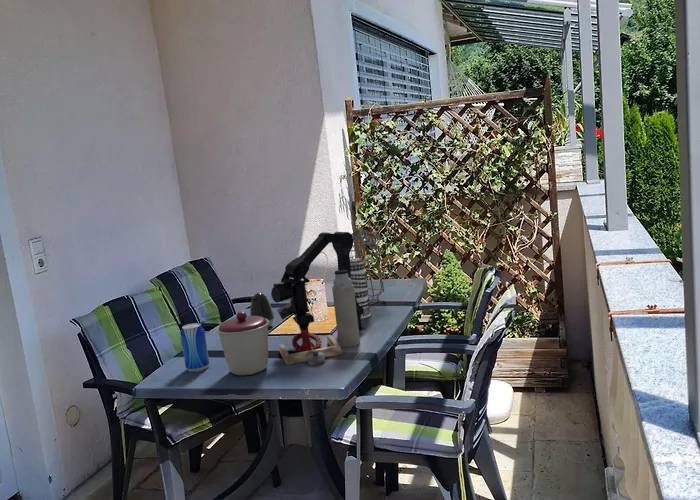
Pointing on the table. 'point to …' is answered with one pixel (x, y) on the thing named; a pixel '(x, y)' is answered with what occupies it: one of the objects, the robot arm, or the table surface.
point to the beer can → (194, 347)
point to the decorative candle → (360, 285)
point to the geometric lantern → (368, 257)
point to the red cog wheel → (306, 341)
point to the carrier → (312, 353)
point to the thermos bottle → (345, 309)
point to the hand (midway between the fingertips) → (303, 336)
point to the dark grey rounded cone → (261, 307)
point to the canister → (245, 343)
